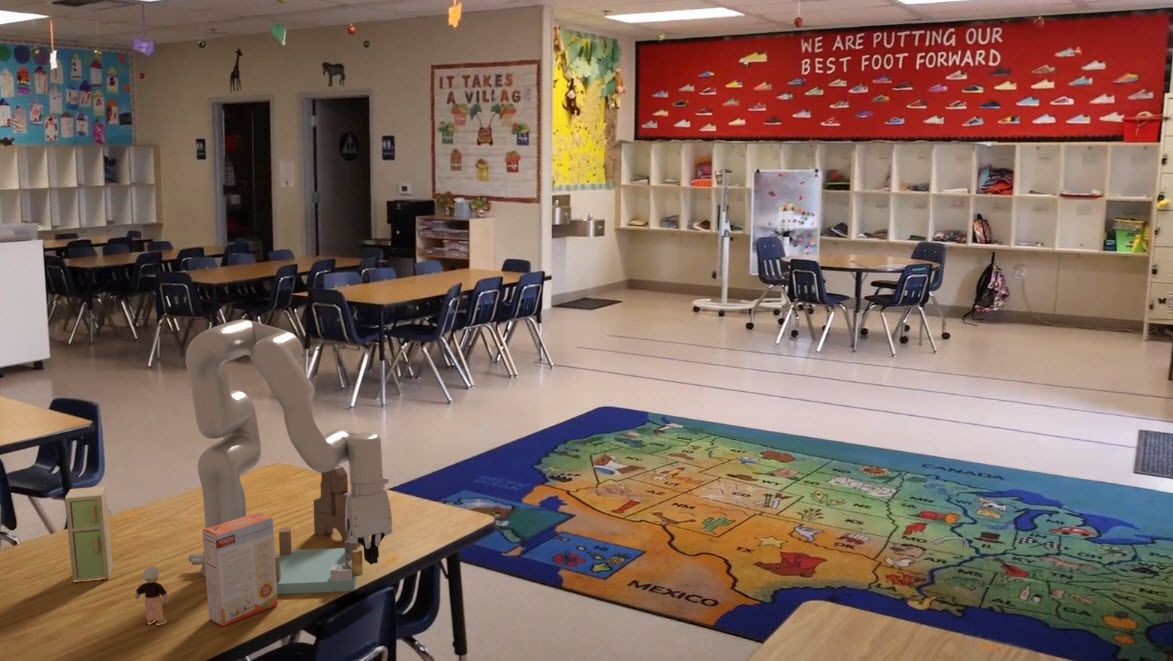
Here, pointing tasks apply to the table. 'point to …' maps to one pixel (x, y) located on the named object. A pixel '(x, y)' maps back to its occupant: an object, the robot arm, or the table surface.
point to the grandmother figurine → (152, 595)
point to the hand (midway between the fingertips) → (371, 561)
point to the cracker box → (240, 568)
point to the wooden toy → (331, 503)
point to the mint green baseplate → (311, 568)
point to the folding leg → (353, 559)
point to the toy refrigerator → (89, 533)
